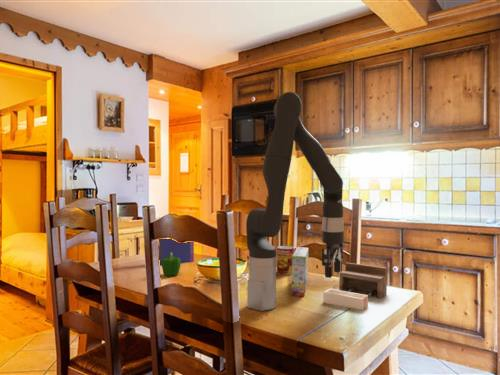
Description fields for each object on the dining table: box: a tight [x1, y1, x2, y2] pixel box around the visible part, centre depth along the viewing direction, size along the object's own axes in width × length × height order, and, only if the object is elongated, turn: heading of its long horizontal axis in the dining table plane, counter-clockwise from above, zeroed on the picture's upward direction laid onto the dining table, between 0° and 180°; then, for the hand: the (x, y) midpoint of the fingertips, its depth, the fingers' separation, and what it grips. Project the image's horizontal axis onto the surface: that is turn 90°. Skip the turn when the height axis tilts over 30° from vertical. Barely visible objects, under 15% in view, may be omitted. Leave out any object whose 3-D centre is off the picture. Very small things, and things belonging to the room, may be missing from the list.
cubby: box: [338, 262, 388, 299], centre depth 147 cm, size 7×16×10 cm, turn 54°
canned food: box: [276, 245, 295, 276], centre depth 178 cm, size 8×8×12 cm
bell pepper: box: [161, 253, 181, 277], centre depth 173 cm, size 8×8×10 cm
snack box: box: [290, 246, 310, 297], centre depth 153 cm, size 21×6×15 cm, turn 168°
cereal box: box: [158, 217, 195, 266], centre depth 200 cm, size 17×5×24 cm, turn 120°
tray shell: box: [322, 288, 369, 311], centre depth 133 cm, size 14×6×4 cm, turn 54°
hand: (332, 274), depth 137 cm, fingers open, 8 cm apart
